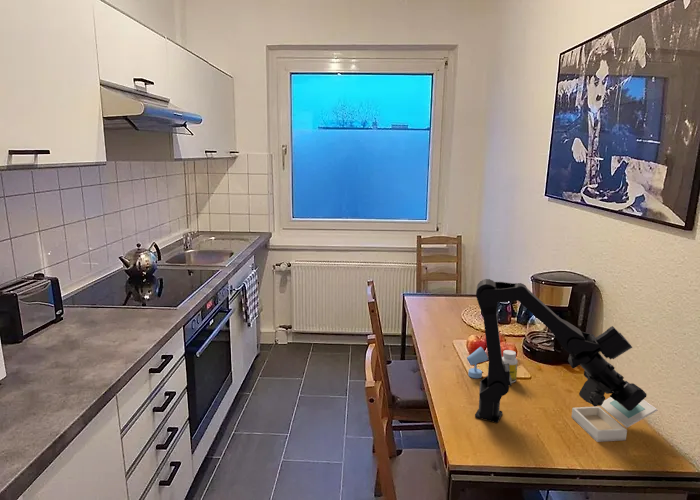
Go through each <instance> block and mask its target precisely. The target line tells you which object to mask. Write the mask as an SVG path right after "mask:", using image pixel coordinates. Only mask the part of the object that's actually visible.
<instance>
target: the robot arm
mask: <svg viewBox="0 0 700 500" xmlns="http://www.w3.org/2000/svg"><path fill="white" fill-rule="evenodd" d="M475 292H476V293H475V296H476V300H477V303H478V307H479V310H480V312H481V314H482V317H483V326H484V335H485V341H486V342H485V343H486V349H487V350H486V351H487V357H488V368H487V369H488V370H487V375H486V376H485V377H484V378H482V379H481V380H480V381H479V393H478V394H479V396H478V397H479V398H478V399H479V400H478V409H477V411H476V413H475V414H474V417H475V418H477V419H481V420H485V421H488V422H493V423H496V424H498V423H499V421H500V419H501V417H502V416H503V411H502V410H501V409H500V406H501V399H502V397H503V396H505V395H506V394H508V393H509V391H510V387H512V383H511V375H510V368H509V363H507V364H504V362H503V360H502V357H503V353H502V347H501V338H500V329H499V321H498V314H497V312H498V303H506V302H507V303H508V302H514V301H516V302H517V301H518V302H519V303H521V305H523V306H524V307H525V309H527V310H528V311H529V312H530V313H531V314H532V315H533V316H535V318H536V319H538V320H539V321H540V322H541V323H542V324H543V325H544V326H545V327H547V329H549V331H550V332H551V333H552V334H553V336H554V338H555V339H556V340H557V341H558V343H559V344H560V345H561V347H562V348H563V350H564V351H565V352H567V353H568V354H569V355H568V359H567V361H568V364H569V365H570V367H571V369H576V368H577V367H578V366H580V367H581V368H582V369H583V370H584V371H583V377H585V378H586V379H587V380H586V381H585V382H584V384H583V385H582V387H581V389H580V390H579V394H578V395H579V397H580V398H581V399H583V400H584V401H585V402H586V403H588V404H590V405H592V407H598V406H599V407H601V405H602V404H603V402H604V400H606V396H605V394H607V395H609V398H610V397H611V398H613V399H614V400H615V401H617V402H618V403H619V404H620V405H621V406H623V407H624V408H625V409H627V410H628V411H631V410H632V409H634V408H635V407H636V406H637V405H638V404H639V403H640V402H641V401H642V400H643V399H644V400H645V399H646V398H647V393H646V391H644V389H642V388H641V387H639V386H638V385H637V384H635V383H633V382H631V383H630V382H628V381H627V380H624V378H625V377H624V376H623V375H622V374H621V373H619V372H618V371H616V370H615V367H614V365H612V364H611V363H610V362H608V361H607V360H606V359H609V360H616V359H617V358H618V357H619V356H621V355H624V354H625V353H626V352H628V351H629V350H631V349H633V346H632V344H630V342H629V341H628V340H627V339H626V337H625V336H624V335H623V334H622V333H621V332H619V331H618V330H617V329H616V328H615V327H614V326H613V325H612V326H610V327H609V328H607V329H606V330H605V331H604V332H602V333H601V334H599V335H598V336H595V335H594V334H593V333H590V332H589V333H588V332H584V331H581V329H580V328H578V327H576V326H575V325H573V324H572V323H571V322H569V321H567V320H565V319H562V318H561V317H559V316H558V315H557V314H556V313H555V312H554V311H553V310H552V309H551V308H550V307H548V306H547V305H546V304H545V303H544V302H543V301H542V300H541V299H540V298H538V297H537V296H536V295H535V294H534V293H533V292H532V291H531V290H530V289H528V287H527V286H526V285H525V284H524V283H521V282H519V283H517V282H515V283H513V282H512V283H511V282H504V281H494V280H492V279H490V278H485V279H482V280H481V281H479V282H478V284H477V286H476V291H475ZM600 353H601V354H600ZM604 357H605V358H604Z"/></svg>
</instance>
